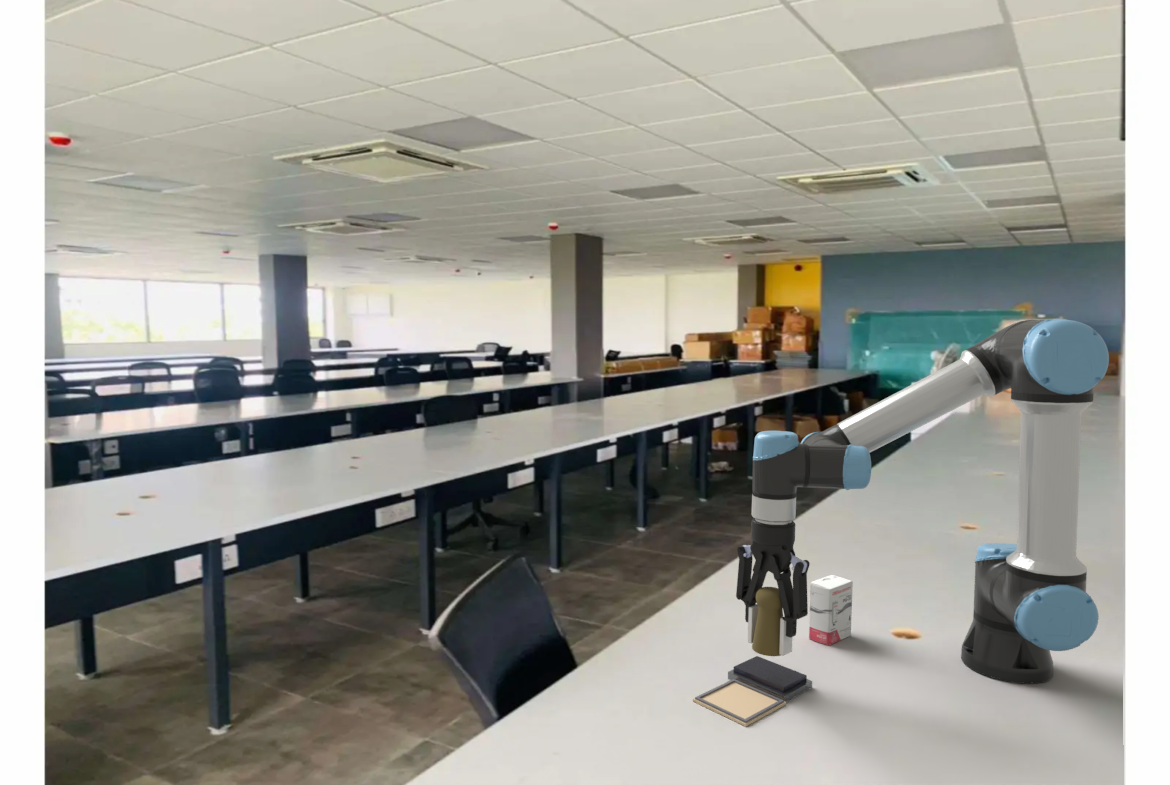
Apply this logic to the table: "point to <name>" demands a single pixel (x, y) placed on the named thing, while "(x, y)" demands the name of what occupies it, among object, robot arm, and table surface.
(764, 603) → the olive chess pawn
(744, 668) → the ink pad
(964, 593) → the table surface
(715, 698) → the print card
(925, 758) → the table surface
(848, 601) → the ink box
